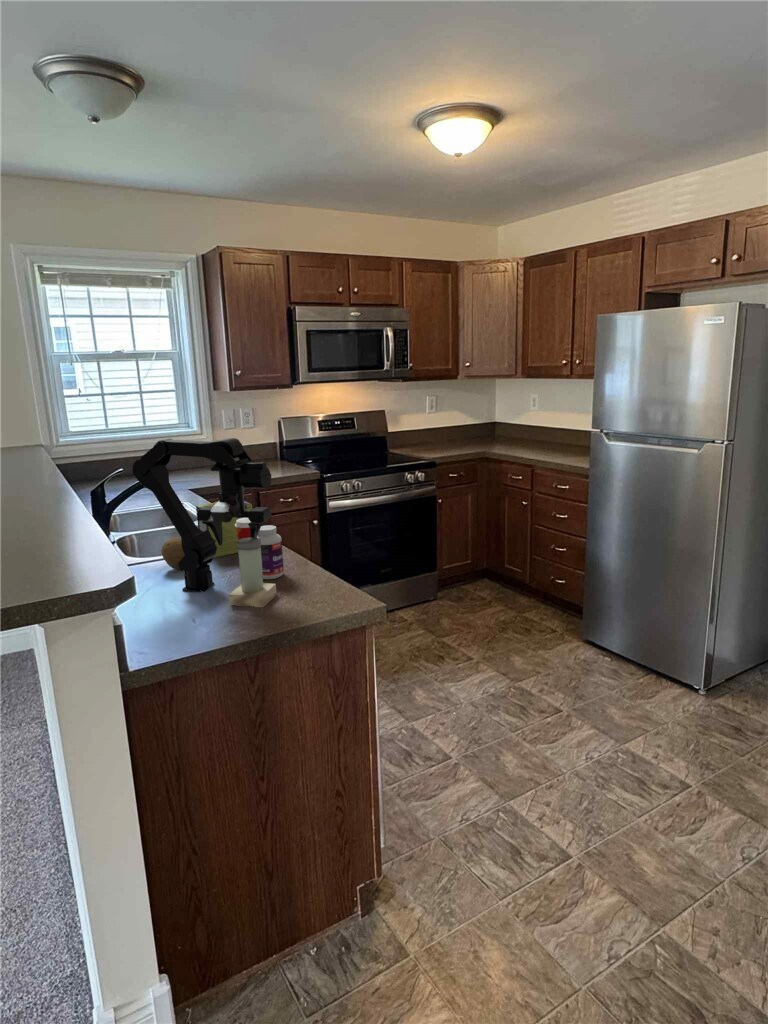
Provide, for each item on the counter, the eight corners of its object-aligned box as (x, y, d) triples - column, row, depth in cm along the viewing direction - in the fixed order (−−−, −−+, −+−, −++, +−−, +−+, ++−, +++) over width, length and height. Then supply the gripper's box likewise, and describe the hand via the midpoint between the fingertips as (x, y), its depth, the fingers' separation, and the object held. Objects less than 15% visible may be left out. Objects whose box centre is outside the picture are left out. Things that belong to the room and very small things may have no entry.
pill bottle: (278, 581, 176) (274, 532, 173) (251, 580, 178) (247, 531, 174) (288, 571, 184) (284, 524, 181) (262, 570, 186) (258, 523, 182)
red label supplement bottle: (251, 558, 197) (248, 515, 194) (269, 562, 193) (265, 518, 189) (232, 565, 191) (228, 521, 187) (249, 570, 186) (246, 524, 183)
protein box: (256, 549, 207) (252, 503, 203) (211, 558, 199) (206, 511, 195) (243, 542, 215) (239, 498, 212) (199, 550, 207) (194, 505, 203)
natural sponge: (171, 563, 194) (168, 532, 192) (199, 564, 193) (196, 532, 191) (158, 573, 186) (154, 541, 183) (187, 574, 185) (184, 541, 182)
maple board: (230, 605, 160) (229, 594, 159) (245, 592, 169) (244, 582, 168) (262, 607, 158) (262, 596, 157) (276, 594, 167) (275, 583, 166)
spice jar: (238, 593, 160) (234, 544, 157) (244, 584, 166) (240, 537, 162) (261, 593, 160) (258, 544, 156) (266, 584, 165) (263, 537, 162)
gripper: (182, 493, 157) (189, 553, 161) (252, 495, 153) (257, 556, 157) (204, 484, 167) (210, 541, 171) (270, 486, 163) (274, 543, 167)
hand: (236, 545), depth 166 cm, fingers open, 9 cm apart
